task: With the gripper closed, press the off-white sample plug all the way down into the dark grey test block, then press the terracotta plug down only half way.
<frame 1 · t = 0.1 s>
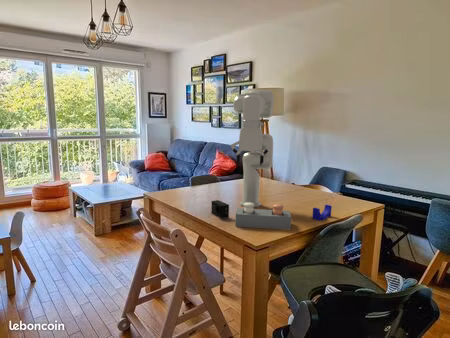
hand: (249, 164, 134), 31 cm above the table, tool pointing down, fingers open, 9 cm apart
blue curved block: (322, 218, 161), on the table
sample plug: (248, 223, 149), resting on test block, slide at 0.0 cm
test block: (262, 224, 149), on the table
terracotta plug: (277, 225, 148), resting on test block, slide at 0.0 cm
digital camera: (218, 215, 161), on the table
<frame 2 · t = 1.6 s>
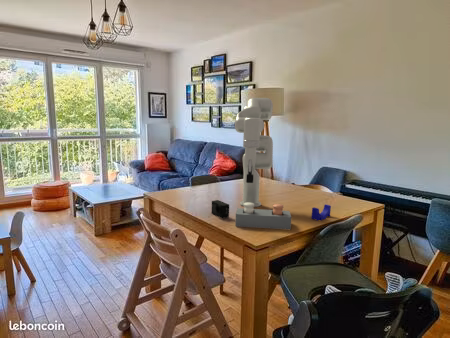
hand: (249, 182, 146), 21 cm above the table, tool pointing down, fingers closed
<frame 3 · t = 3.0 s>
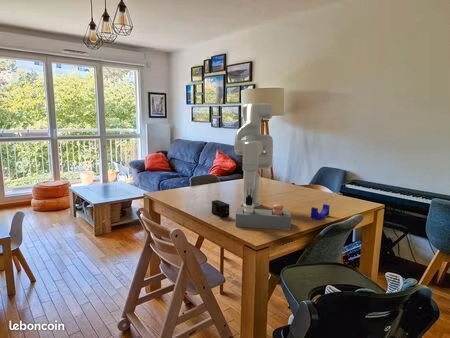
hand: (248, 204, 147), 10 cm above the table, tool pointing down, fingers closed
sample plug: (248, 224, 149), resting on test block, slide at 0.5 cm, touching gripper
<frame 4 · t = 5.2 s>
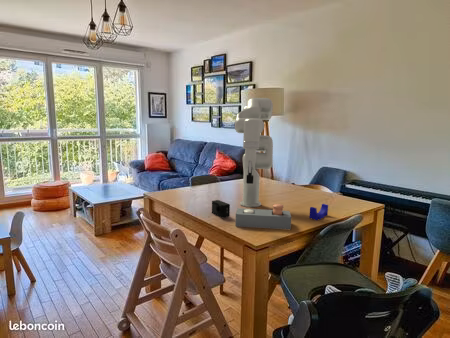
hand: (249, 183, 146), 20 cm above the table, tool pointing down, fingers closed
sample plug: (248, 230, 150), resting on test block, slide at 3.6 cm
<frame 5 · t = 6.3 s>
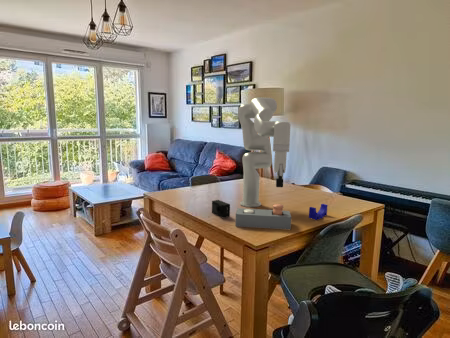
hand: (279, 186, 144), 19 cm above the table, tool pointing down, fingers closed
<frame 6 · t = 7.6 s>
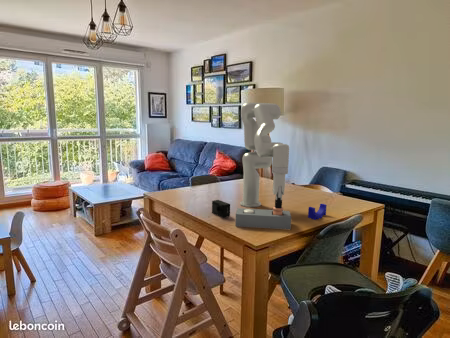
hand: (278, 207, 146), 9 cm above the table, tool pointing down, fingers closed
terracotta plug: (276, 227, 148), resting on test block, slide at 1.1 cm, touching gripper
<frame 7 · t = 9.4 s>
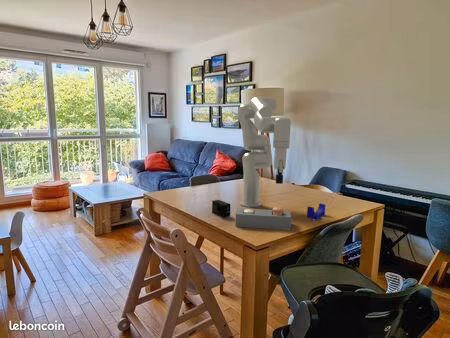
hand: (279, 183, 145), 21 cm above the table, tool pointing down, fingers closed
terracotta plug: (276, 228, 148), resting on test block, slide at 1.7 cm
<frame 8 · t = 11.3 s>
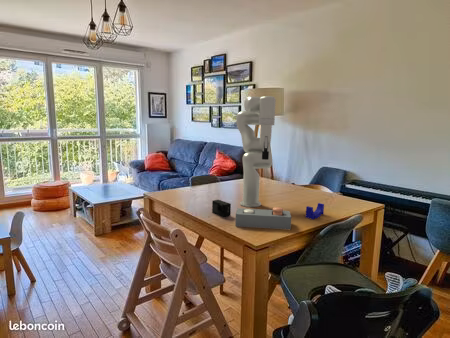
hand: (265, 159, 151), 31 cm above the table, tool pointing down, fingers closed
at the end: sample plug slide at 3.6 cm; terracotta plug slide at 1.7 cm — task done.
